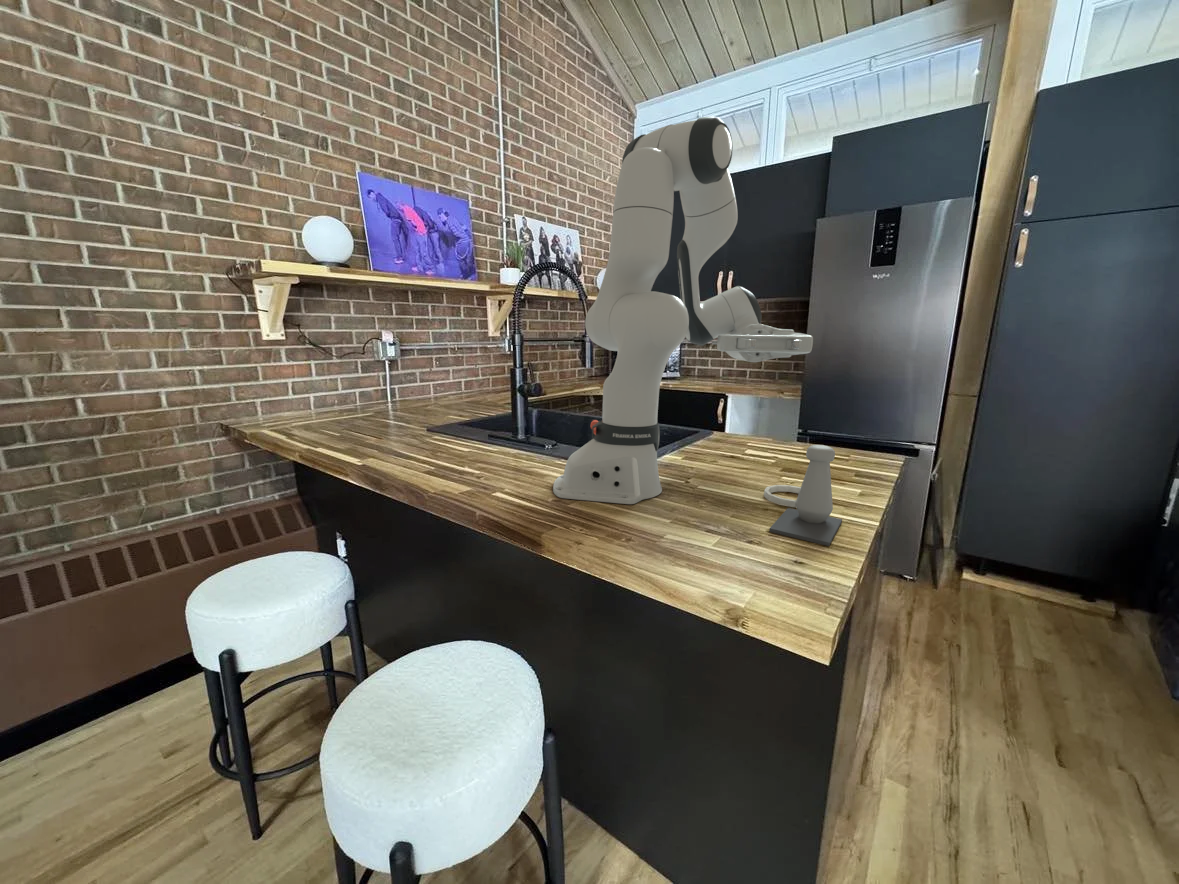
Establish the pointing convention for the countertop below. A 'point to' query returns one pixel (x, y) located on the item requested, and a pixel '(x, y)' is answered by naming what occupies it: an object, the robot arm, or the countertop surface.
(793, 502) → the ceramic ring
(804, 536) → the rubber mat
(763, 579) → the countertop surface
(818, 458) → the salt shaker
